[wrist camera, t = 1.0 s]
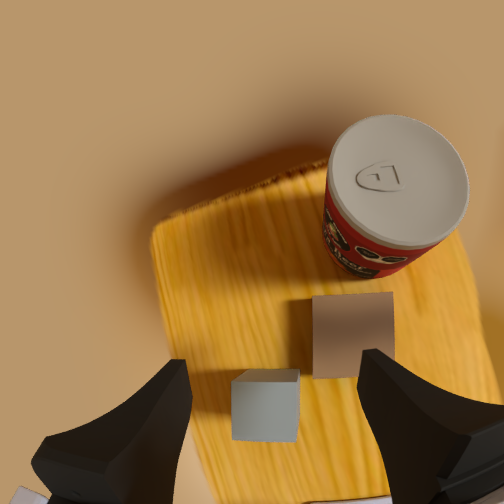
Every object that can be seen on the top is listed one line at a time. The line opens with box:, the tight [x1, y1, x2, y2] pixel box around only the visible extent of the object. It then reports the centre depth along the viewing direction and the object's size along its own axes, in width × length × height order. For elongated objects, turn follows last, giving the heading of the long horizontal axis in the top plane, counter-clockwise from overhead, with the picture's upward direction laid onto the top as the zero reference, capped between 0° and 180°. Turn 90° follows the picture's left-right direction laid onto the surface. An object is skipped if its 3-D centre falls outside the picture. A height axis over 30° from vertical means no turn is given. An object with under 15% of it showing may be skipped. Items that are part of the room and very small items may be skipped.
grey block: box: [231, 369, 300, 442], centre depth 20 cm, size 4×4×6 cm
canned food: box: [322, 115, 470, 279], centre depth 19 cm, size 8×8×11 cm
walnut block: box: [312, 292, 395, 379], centre depth 22 cm, size 6×6×2 cm
